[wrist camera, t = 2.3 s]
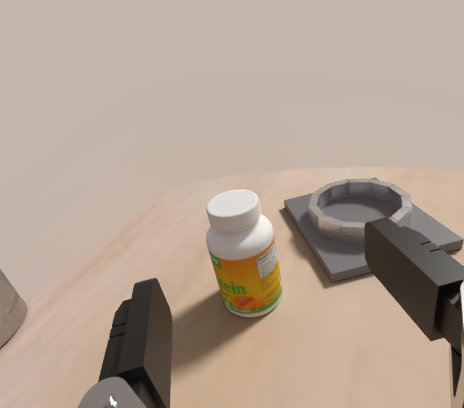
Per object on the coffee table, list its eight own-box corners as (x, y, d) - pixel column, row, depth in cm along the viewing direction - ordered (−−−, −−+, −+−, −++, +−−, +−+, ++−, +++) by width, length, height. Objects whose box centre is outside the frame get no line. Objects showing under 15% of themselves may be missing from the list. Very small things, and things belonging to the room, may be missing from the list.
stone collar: (334, 255, 29) (333, 237, 28) (299, 206, 37) (297, 191, 36) (432, 229, 29) (435, 211, 28) (375, 186, 37) (376, 171, 36)
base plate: (332, 282, 27) (332, 273, 27) (284, 207, 39) (284, 200, 39) (461, 248, 28) (463, 239, 27) (374, 184, 40) (375, 177, 39)
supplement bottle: (211, 303, 28) (181, 212, 23) (247, 267, 31) (227, 180, 26) (259, 330, 25) (236, 229, 20) (294, 285, 28) (281, 190, 23)
